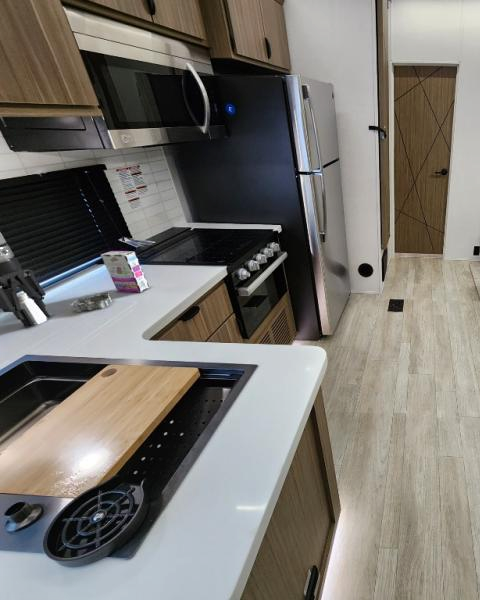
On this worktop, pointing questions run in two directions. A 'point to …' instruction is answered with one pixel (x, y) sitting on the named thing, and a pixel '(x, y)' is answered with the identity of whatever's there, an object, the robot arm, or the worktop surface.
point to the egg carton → (92, 302)
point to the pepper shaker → (31, 309)
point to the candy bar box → (125, 271)
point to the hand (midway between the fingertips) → (37, 321)
